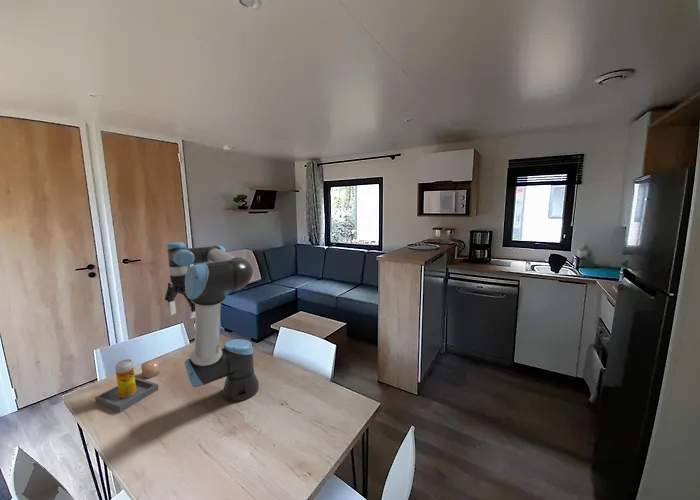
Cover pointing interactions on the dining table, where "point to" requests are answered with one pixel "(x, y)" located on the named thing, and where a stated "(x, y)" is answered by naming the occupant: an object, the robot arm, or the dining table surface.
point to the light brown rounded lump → (150, 369)
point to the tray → (119, 403)
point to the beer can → (125, 378)
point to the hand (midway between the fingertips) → (182, 315)
